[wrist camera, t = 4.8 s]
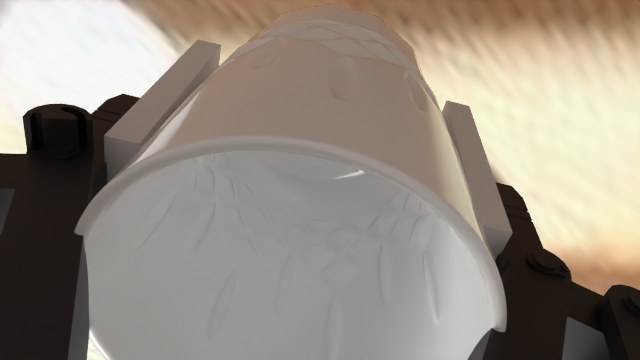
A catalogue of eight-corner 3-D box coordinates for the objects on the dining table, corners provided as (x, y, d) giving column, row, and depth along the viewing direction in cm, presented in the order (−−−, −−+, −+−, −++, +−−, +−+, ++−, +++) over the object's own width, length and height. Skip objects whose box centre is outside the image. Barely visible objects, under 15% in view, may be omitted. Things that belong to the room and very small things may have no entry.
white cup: (176, 110, 18) (4, 327, 10) (309, -77, 14) (212, 19, 6) (342, 228, 20) (315, 487, 12) (495, 92, 17) (609, 332, 8)
